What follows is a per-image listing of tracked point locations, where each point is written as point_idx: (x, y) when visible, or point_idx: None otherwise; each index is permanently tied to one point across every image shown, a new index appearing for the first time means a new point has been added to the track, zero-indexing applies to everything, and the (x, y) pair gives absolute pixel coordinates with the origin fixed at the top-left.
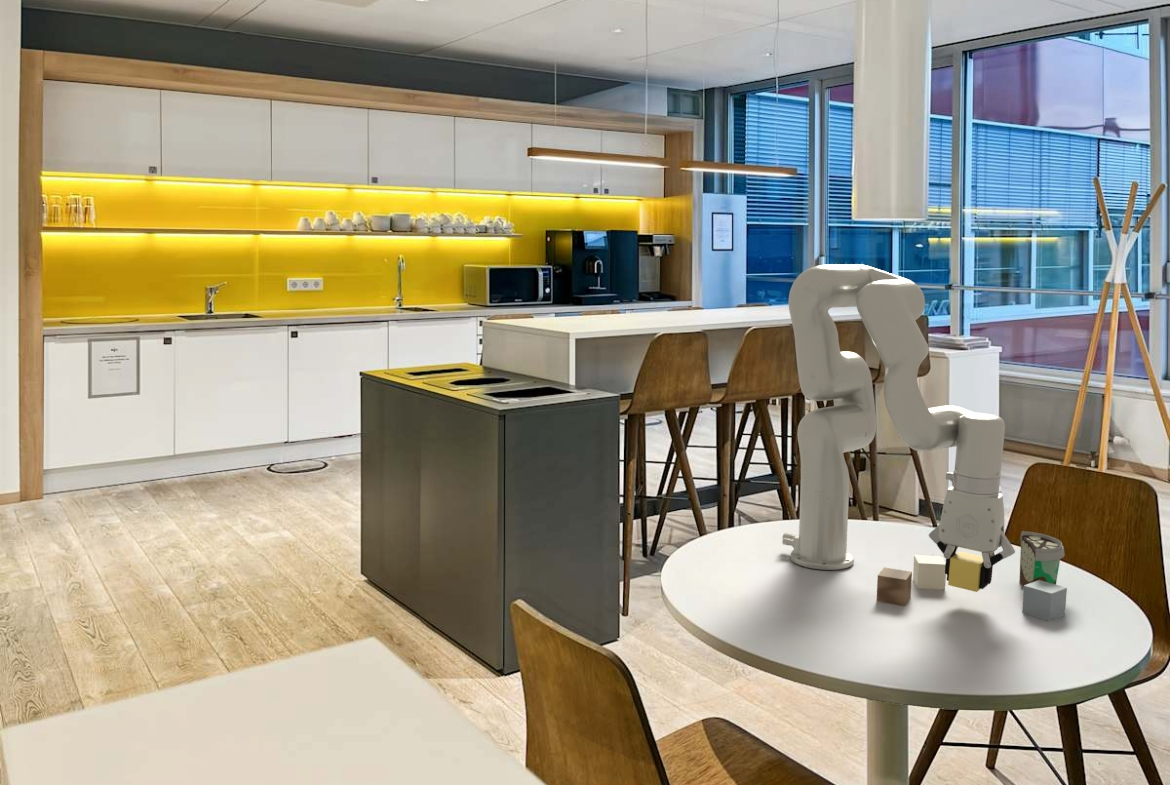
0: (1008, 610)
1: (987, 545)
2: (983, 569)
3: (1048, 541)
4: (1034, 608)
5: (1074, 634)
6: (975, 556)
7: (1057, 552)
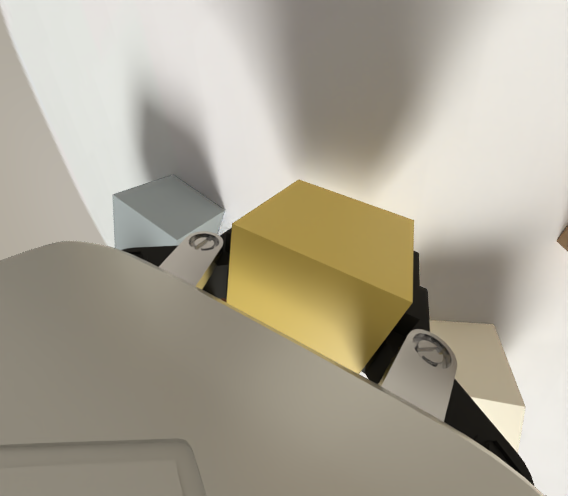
0: None
1: (41, 277)
2: None
3: None
4: (189, 200)
5: (116, 105)
6: None
7: None
